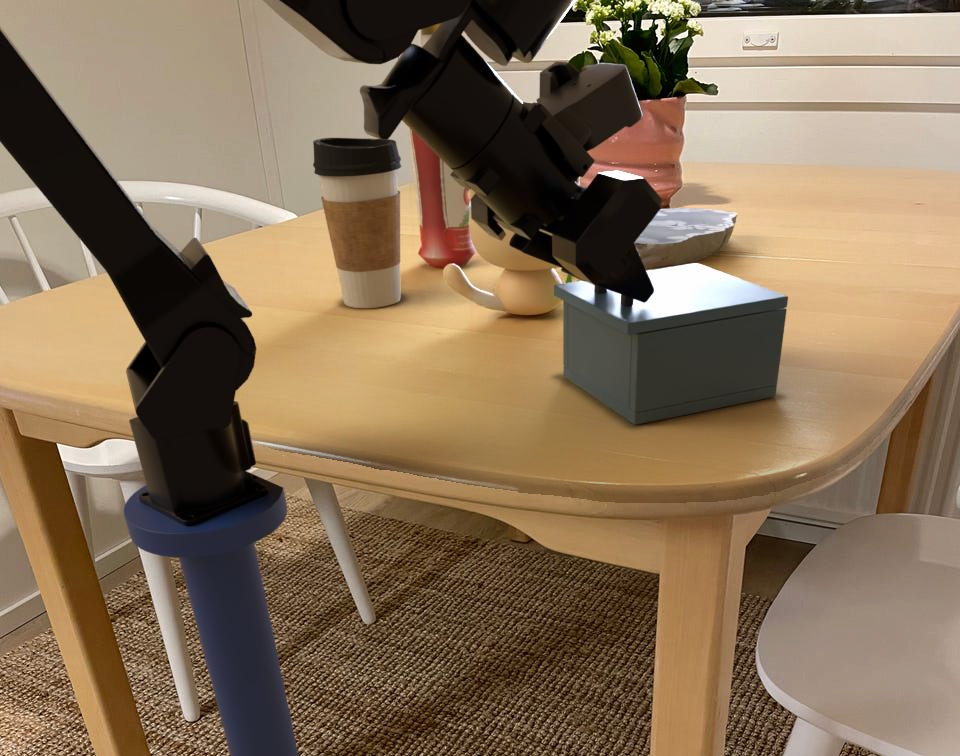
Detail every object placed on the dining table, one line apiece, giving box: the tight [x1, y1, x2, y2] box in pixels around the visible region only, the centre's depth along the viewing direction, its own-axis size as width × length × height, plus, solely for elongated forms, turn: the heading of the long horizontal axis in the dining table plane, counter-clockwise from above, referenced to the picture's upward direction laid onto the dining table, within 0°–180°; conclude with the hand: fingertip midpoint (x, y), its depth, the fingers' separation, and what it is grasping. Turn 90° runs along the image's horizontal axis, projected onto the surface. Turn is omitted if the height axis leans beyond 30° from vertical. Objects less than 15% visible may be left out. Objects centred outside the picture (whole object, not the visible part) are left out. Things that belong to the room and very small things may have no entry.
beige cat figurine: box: [442, 177, 581, 316], centre depth 88 cm, size 15×10×15 cm, turn 64°
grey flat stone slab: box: [634, 207, 738, 269], centre depth 110 cm, size 20×17×3 cm
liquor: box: [406, 23, 477, 269], centre depth 103 cm, size 7×7×28 cm
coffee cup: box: [312, 137, 402, 309], centre depth 94 cm, size 8×8×15 cm
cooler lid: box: [554, 259, 789, 335], centre depth 68 cm, size 13×12×4 cm
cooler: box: [562, 300, 787, 426], centre depth 72 cm, size 12×12×6 cm
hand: (631, 288), depth 68 cm, fingers closed on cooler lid, 5 cm apart
